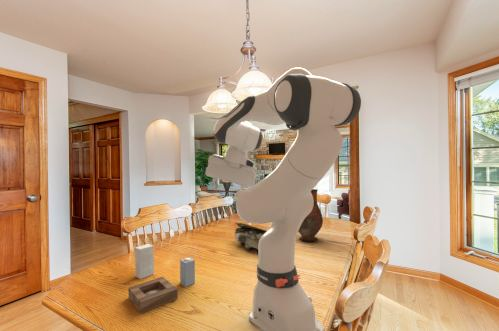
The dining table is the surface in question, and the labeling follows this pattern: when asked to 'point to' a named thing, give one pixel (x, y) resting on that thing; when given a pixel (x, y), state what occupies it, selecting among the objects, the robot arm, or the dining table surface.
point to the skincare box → (144, 261)
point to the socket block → (152, 294)
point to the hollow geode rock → (248, 235)
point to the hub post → (187, 271)
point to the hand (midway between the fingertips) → (226, 192)
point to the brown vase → (311, 222)
